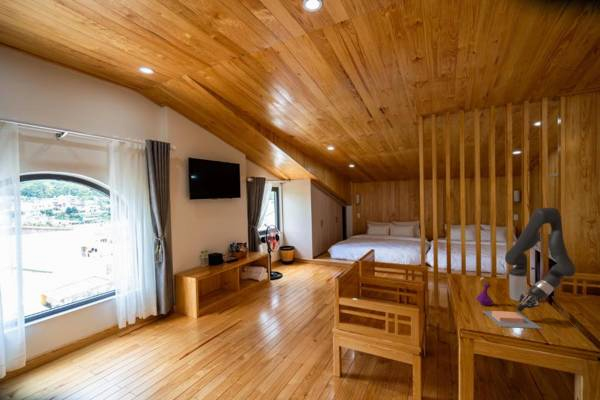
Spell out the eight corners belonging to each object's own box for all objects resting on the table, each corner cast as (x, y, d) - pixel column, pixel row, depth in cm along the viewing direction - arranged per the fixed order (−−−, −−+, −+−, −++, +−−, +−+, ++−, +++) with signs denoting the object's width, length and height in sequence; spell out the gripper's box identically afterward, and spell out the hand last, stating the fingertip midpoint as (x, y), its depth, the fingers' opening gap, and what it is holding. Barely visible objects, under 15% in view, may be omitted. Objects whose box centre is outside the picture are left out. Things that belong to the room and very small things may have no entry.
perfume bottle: (489, 302, 178) (487, 276, 178) (493, 307, 171) (492, 279, 171) (476, 301, 180) (475, 275, 180) (480, 306, 173) (479, 279, 173)
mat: (482, 311, 165) (482, 311, 165) (518, 313, 161) (518, 312, 161) (500, 326, 145) (500, 326, 145) (542, 329, 141) (542, 328, 141)
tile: (514, 316, 156) (491, 315, 159) (513, 311, 157) (491, 310, 159) (523, 323, 148) (500, 321, 150) (523, 318, 148) (499, 317, 150)
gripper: (528, 281, 157) (505, 301, 159) (544, 288, 144) (519, 310, 146) (538, 290, 156) (516, 310, 158) (555, 298, 143) (531, 320, 145)
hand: (517, 310), depth 152 cm, fingers closed
